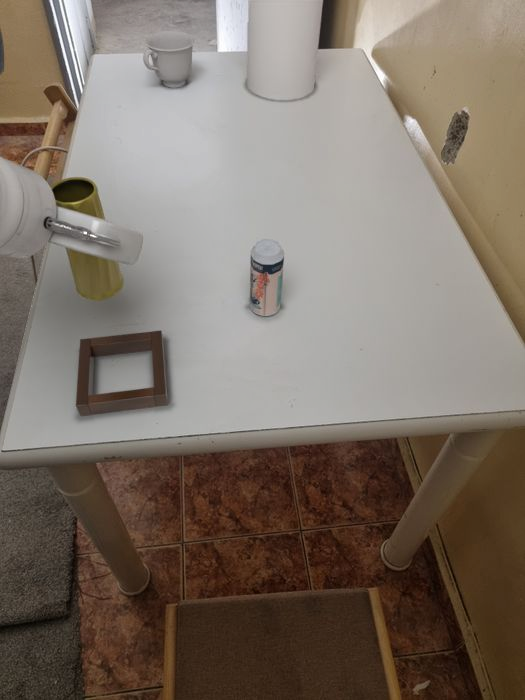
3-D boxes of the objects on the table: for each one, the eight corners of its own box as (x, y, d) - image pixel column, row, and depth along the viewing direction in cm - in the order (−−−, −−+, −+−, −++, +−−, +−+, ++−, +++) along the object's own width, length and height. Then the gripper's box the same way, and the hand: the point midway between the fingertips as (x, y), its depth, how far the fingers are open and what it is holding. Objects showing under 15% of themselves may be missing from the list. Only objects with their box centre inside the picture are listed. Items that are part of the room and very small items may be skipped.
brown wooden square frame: (80, 416, 68) (75, 406, 66) (84, 350, 75) (79, 339, 74) (168, 405, 70) (165, 394, 68) (163, 341, 77) (161, 330, 75)
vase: (66, 291, 67) (31, 195, 56) (96, 264, 70) (69, 169, 59) (104, 307, 65) (75, 212, 54) (133, 278, 69) (112, 183, 58)
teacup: (132, 87, 130) (125, 44, 122) (173, 68, 137) (169, 26, 130) (167, 102, 125) (162, 58, 117) (207, 81, 133) (205, 39, 125)
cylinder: (322, 97, 129) (338, -39, 108) (255, 102, 126) (257, -36, 105) (303, 68, 140) (314, -61, 118) (241, 72, 137) (240, -59, 115)
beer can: (246, 299, 83) (246, 240, 74) (274, 294, 84) (278, 234, 75) (255, 321, 80) (256, 261, 71) (284, 314, 81) (289, 255, 72)
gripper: (108, 204, 46) (173, 231, 59) (-71, 153, 51) (26, 188, 64) (91, 272, 47) (158, 283, 60) (-84, 216, 51) (14, 238, 65)
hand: (89, 234), depth 62 cm, fingers closed on vase, 5 cm apart
